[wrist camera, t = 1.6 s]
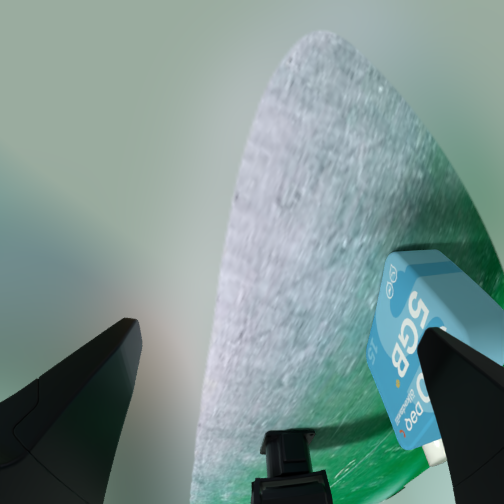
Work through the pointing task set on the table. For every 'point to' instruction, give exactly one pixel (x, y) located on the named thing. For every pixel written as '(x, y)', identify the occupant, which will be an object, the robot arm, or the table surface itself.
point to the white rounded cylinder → (435, 453)
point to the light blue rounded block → (413, 327)
